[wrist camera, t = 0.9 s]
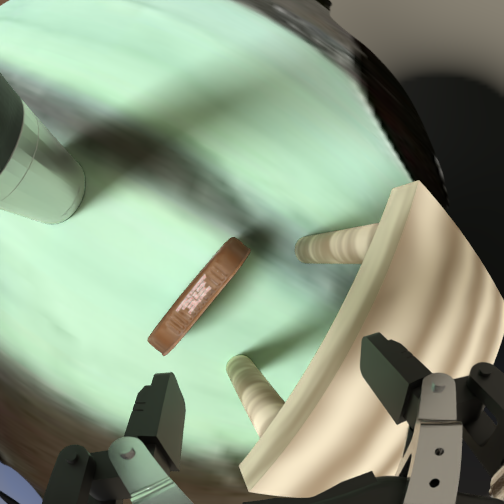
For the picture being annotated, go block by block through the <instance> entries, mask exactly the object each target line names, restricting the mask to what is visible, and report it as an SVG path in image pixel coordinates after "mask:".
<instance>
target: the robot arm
mask: <svg viewBox="0 0 504 504" xmlns="http://www.w3.org/2000/svg"><path fill="white" fill-rule="evenodd" d="M84 192H85V175H84V172H83V169H82V167H81V166H80V164H79V163H78V162H77V161H76V160H75V159H74V158H73V157H72V156H71V155H70V153H69V152H68V151H67V150H66V149H65V148H64V147H63V146H62V145H61V144H60V143H59V141H58V140H57V139H56V138H55V137H54V136H53V135H52V134H51V133H50V132H49V130H48V129H47V128H46V127H45V126H44V125H43V124H42V122H41V121H40V120H39V119H38V118H37V117H36V116H35V114H34V113H33V112H32V111H31V110H30V109H29V108H28V106H27V105H26V104H25V103H24V102H23V100H22V99H21V98H20V97H19V96H18V94H17V93H16V92H15V91H14V90H13V89H12V87H11V86H10V85H9V84H8V82H7V81H6V80H5V78H4V77H3V76H2V74H1V73H0V209H1V210H4V211H7V212H10V213H13V214H17V215H20V216H23V217H26V218H29V219H32V220H35V221H39V222H42V223H45V224H58V223H61V222H63V221H65V220H66V219H68V218H69V217H70V216H71V215H72V214H73V213H74V212H75V211H76V209H77V208H78V207H79V205H80V203H81V201H82V198H83V195H84ZM360 371H361V374H362V376H363V378H364V379H365V381H366V382H367V384H368V385H369V386H370V388H371V389H372V391H373V392H374V393H375V395H376V396H377V398H378V399H379V400H380V402H381V403H382V405H383V406H384V407H385V409H386V410H387V412H388V413H389V414H390V416H391V417H392V419H393V420H394V422H395V423H396V424H397V425H398V424H400V423H403V422H405V421H407V423H408V424H409V425H408V428H407V432H406V437H405V442H404V446H403V451H402V455H401V459H400V463H399V466H398V469H397V471H396V474H395V476H378V477H375V475H374V473H373V471H370V472H367V473H365V474H362V475H359V476H357V477H354V478H351V479H348V480H345V481H342V482H340V483H339V484H337V485H335V486H333V487H331V488H330V489H328V490H326V491H324V492H322V493H320V494H318V495H316V496H313V497H309V498H273V499H266V500H260V501H252V502H243V504H504V374H503V373H502V372H501V371H500V370H499V369H498V368H496V367H495V366H494V365H492V364H490V363H487V362H479V363H477V364H475V365H473V366H472V368H471V370H470V373H469V375H468V376H464V377H460V378H456V379H453V378H452V377H451V376H449V375H447V374H445V373H432V372H431V371H430V370H429V369H428V368H427V367H426V366H424V365H423V364H422V363H421V362H420V361H419V360H418V359H417V358H416V357H415V356H413V354H412V353H411V352H410V351H408V349H406V348H405V347H404V346H403V345H402V344H401V343H399V342H396V341H394V340H392V339H391V340H387V339H386V338H385V337H384V336H383V335H382V334H381V333H380V332H377V333H374V334H371V335H367V336H364V337H363V338H362V341H361V355H360ZM485 406H486V407H487V408H488V409H489V410H490V411H491V412H492V414H493V415H494V416H495V417H496V419H497V426H496V424H495V423H494V422H493V421H492V420H491V419H490V418H489V416H488V415H487V414H486V413H485V412H484V411H483V409H484V407H485ZM185 411H186V409H185V402H184V398H183V396H182V393H181V391H180V388H179V386H178V383H177V380H176V378H175V375H174V374H173V373H172V372H170V373H157V374H155V375H154V377H153V380H152V383H151V385H149V386H144V388H143V389H142V390H141V391H140V392H139V393H138V395H137V398H136V401H135V404H134V407H133V411H132V413H131V416H130V419H129V422H128V425H127V429H126V432H125V435H124V437H123V438H120V439H118V440H116V441H114V442H113V443H112V444H111V446H110V448H109V450H107V451H101V452H95V453H89V452H88V451H87V450H86V449H85V448H84V447H82V446H80V445H70V446H67V447H65V448H64V449H63V450H62V451H61V452H60V453H59V455H58V458H57V461H56V463H55V466H54V469H53V471H52V474H51V477H50V480H49V483H48V486H47V489H46V492H45V495H44V498H43V502H42V504H123V499H128V498H130V499H131V502H132V503H133V504H193V503H192V502H191V501H190V500H189V498H188V497H187V496H186V495H185V494H184V493H183V492H182V491H181V490H180V489H179V488H178V486H177V485H176V484H175V483H174V482H173V481H172V480H171V478H169V477H170V471H180V459H181V449H182V439H183V429H184V420H185ZM462 438H463V439H464V441H465V442H466V443H467V445H468V446H469V447H470V449H471V450H472V451H473V453H474V454H475V456H476V457H477V458H478V460H479V461H480V463H481V464H482V465H483V467H484V468H485V470H486V471H487V472H488V474H489V475H490V477H491V478H492V480H491V489H490V491H489V495H490V496H491V497H493V498H491V497H483V496H478V495H471V494H466V493H461V492H457V490H458V482H459V475H460V465H461V452H462V451H461V450H462Z"/></svg>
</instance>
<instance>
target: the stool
mask: <svg viewBox="0 0 504 504" xmlns="http://www.w3.org/2000/svg"><path fill="white" fill-rule="evenodd" d="M295 255H296V257H297V258H298V260H299V261H301V262H303V263H314V264H362V265H361V267H360V269H359V271H358V273H357V275H356V278H355V280H354V282H353V284H352V286H351V288H350V290H349V292H348V294H347V296H346V298H345V300H344V302H343V304H342V306H341V308H340V310H339V312H338V314H337V316H336V318H335V320H334V321H333V323H332V325H331V327H330V329H329V331H328V333H327V334H326V336H325V338H324V340H323V342H322V343H321V345H320V347H319V349H318V350H317V352H316V354H315V356H314V357H313V359H312V361H311V362H310V364H309V366H308V367H307V369H306V371H305V372H304V374H303V376H302V377H301V379H300V380H299V382H298V384H297V385H296V387H295V388H294V390H293V391H292V393H291V395H290V396H289V398H288V399H287V401H286V402H284V400H283V399H282V398H281V397H280V396H279V394H278V393H277V392H276V391H275V390H274V388H273V387H272V386H271V385H270V383H269V382H268V381H267V380H266V378H265V377H264V376H263V375H262V373H261V372H260V371H259V370H258V368H257V367H256V366H255V364H254V363H253V362H252V361H251V359H250V358H248V357H247V356H244V355H237V356H234V357H232V358H231V359H230V360H229V361H228V363H227V366H226V371H227V373H228V376H229V378H230V380H231V382H232V384H233V386H234V388H235V390H236V392H237V394H238V396H239V398H240V400H241V402H242V404H243V406H244V408H245V410H246V412H247V414H248V416H249V418H250V420H251V422H252V424H253V426H254V428H255V429H256V431H257V433H258V435H259V437H260V439H259V441H258V442H257V443H256V445H255V446H254V447H253V448H252V450H251V451H250V452H249V454H248V455H247V456H246V457H245V459H244V460H243V461H242V463H241V464H240V465H239V468H240V470H241V473H242V476H243V478H244V481H245V483H246V486H247V488H248V490H249V492H254V493H260V494H268V495H276V496H285V497H298V498H309V497H313V496H316V495H318V494H320V493H322V492H324V491H326V490H328V489H330V488H331V487H333V486H335V485H337V484H339V483H340V482H342V481H345V480H348V479H351V478H354V477H357V476H359V475H362V474H365V473H367V472H370V471H373V473H374V475H375V477H378V476H395V474H396V471H397V469H398V466H399V463H400V459H401V455H402V451H403V446H404V442H405V437H406V432H407V428H408V425H409V424H408V423H407V421H405V422H403V423H400V424H398V425H397V424H396V423H395V422H394V420H393V419H392V417H391V416H390V414H389V413H388V412H387V410H386V409H385V407H384V406H383V405H382V403H381V402H380V400H379V399H378V398H377V396H376V395H375V393H374V392H373V391H372V389H371V388H370V386H369V385H368V384H367V382H366V381H365V379H364V378H363V376H362V374H361V371H360V355H361V341H362V338H363V337H364V336H367V335H371V334H374V333H377V332H380V333H381V334H382V335H383V336H384V337H385V338H386V339H387V340H391V339H392V340H394V341H396V342H399V343H401V344H402V345H403V346H404V347H405V348H406V349H408V351H410V352H411V353H412V354H413V356H415V357H416V358H417V359H418V360H419V361H420V362H421V363H422V364H423V365H424V366H426V367H427V368H428V369H429V370H430V371H431V372H432V373H445V374H447V375H449V376H451V377H452V378H453V379H456V378H460V377H464V376H468V375H469V373H470V370H471V368H472V366H473V365H475V364H477V363H479V362H487V363H490V364H492V365H493V364H494V361H495V358H496V355H497V353H498V350H499V347H500V344H501V341H502V338H503V335H504V300H503V298H502V297H501V295H500V293H499V291H498V289H497V287H496V286H495V284H494V282H493V280H492V279H491V277H490V275H489V274H488V272H487V271H486V269H485V267H484V265H483V264H482V262H481V261H480V259H479V257H478V256H477V254H476V253H475V251H474V250H473V248H472V247H471V246H470V244H469V243H468V241H467V240H466V238H465V237H464V235H463V234H462V233H461V231H460V230H459V228H458V227H457V226H456V225H455V223H454V222H453V220H452V219H451V218H450V217H449V215H448V214H447V213H446V211H445V210H444V209H443V208H442V206H441V205H440V204H439V203H438V202H437V200H436V199H435V198H434V197H433V196H432V194H431V193H430V192H429V191H428V190H427V189H426V188H425V186H424V185H423V184H422V183H421V182H420V181H419V180H418V181H415V182H411V183H408V184H405V185H402V186H399V187H396V188H393V189H392V191H391V193H390V196H389V199H388V202H387V204H386V207H385V210H384V212H383V215H382V217H381V220H380V222H379V223H375V224H370V225H364V226H359V227H354V228H348V229H343V230H338V231H332V232H327V233H322V234H316V235H311V236H306V237H302V238H300V239H299V240H298V241H297V243H296V245H295Z"/></svg>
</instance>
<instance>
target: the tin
mask: <svg viewBox="0 0 504 504" xmlns="http://www.w3.org/2000/svg"><path fill="white" fill-rule="evenodd" d="M250 251H251V249H250V248H247V247H246V246H245V245H244V244H243V243H242V242H240V241H239V240H238V239H237V238H235V237H231V238H230V239H229V240H228V241H227V242H225V243H224V244H223V246H222V247H221V248H220V249H219V250H218V251H217V252H216V254H215V255H214V256H213V257H212V258H211V260H210V261H209V262H208V263H207V264H206V265H205V267H204V268H203V269H202V270H201V271H200V273H199V274H198V275H197V276H196V277H195V278H194V280H193V281H192V282H191V283H190V284H189V285H188V287H187V288H186V289H185V290H184V292H183V293H182V294H181V295H180V297H179V298H178V299H177V300H176V302H175V303H174V304H173V305H172V307H171V308H170V309H169V311H168V312H167V313H166V314H165V316H164V317H163V318H162V320H161V321H160V322H159V323H158V325H157V326H156V327H155V329H154V330H153V332H152V333H151V334H150V336H149V337H148V342H149V343H150V344H151V345H152V346H153V347H154V348H156V349H157V350H158V351H160V352H161V353H162V355H163V356H165V355H167V354H168V353H169V352H170V351H171V350H172V349H173V348H174V347H175V346H176V345H177V344H178V343H179V341H180V340H181V339H182V338H183V337H184V336H185V334H186V333H187V332H188V331H189V330H190V328H191V327H192V326H193V325H194V323H195V322H196V321H197V320H198V319H199V317H200V316H201V315H202V314H203V313H204V311H205V310H206V309H207V308H208V306H209V305H210V304H211V303H212V302H213V300H214V299H215V298H216V297H217V295H218V294H219V293H220V292H221V291H222V289H223V288H224V287H225V286H226V285H227V283H228V282H229V281H230V280H231V279H232V277H233V276H234V275H235V274H236V272H237V271H238V270H239V268H240V267H241V266H242V264H243V263H244V261H245V260H246V258H247V257H248V255H249V253H250Z"/></svg>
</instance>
